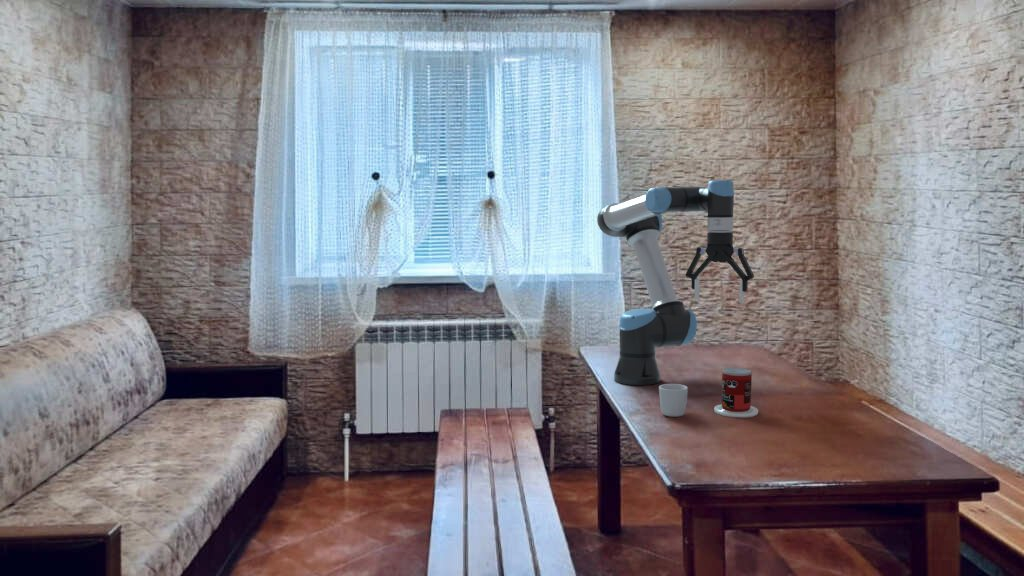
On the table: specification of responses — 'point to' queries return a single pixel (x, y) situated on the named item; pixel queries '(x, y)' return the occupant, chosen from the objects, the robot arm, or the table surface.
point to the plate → (749, 413)
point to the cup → (673, 399)
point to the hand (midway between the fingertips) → (718, 301)
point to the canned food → (736, 389)
